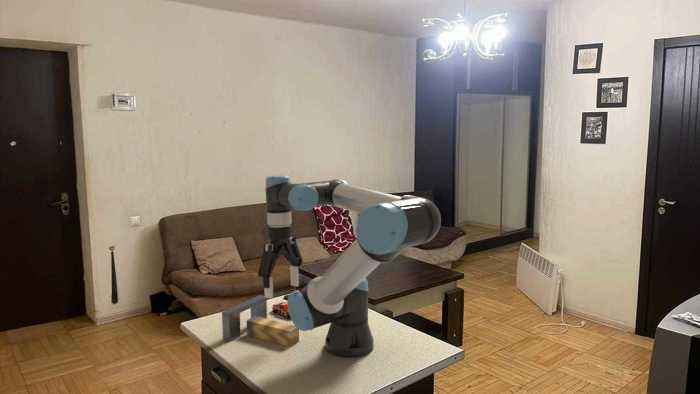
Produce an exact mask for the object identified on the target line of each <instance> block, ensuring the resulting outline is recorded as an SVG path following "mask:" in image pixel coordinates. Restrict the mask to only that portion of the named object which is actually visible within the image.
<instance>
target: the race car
mask: <svg viewBox="0 0 700 394" xmlns="http://www.w3.org/2000/svg"><path fill="white" fill-rule="evenodd" d="M271 309H272V310H271V311H272V312H273V313H274V314H275V315H279V316H281V317H284V318H286V319H287V320H291V318H290V315H289V311H288V302H285V301H283V302H282V301H281V302H280V301H279V302H276V303H274V304H272V308H271Z"/></svg>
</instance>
